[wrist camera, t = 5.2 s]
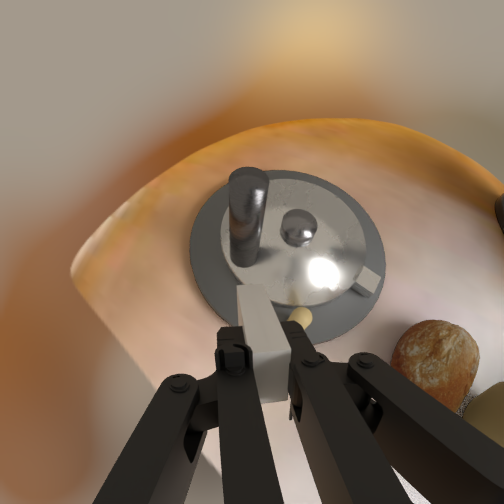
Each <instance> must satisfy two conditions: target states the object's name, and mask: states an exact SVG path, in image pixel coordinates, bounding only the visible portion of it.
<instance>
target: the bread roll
mask: <svg viewBox="0 0 504 504" xmlns="http://www.w3.org/2000/svg"><path fill="white" fill-rule="evenodd" d="M479 359H480V356H479V349H478V346H477V344H476V341H475V340H474V339H473V338H472V337H471V335H470V334H469V333H468V332H467V331H466V330H465V329H463V328H461V327H460V326H459V325H454V324H451V323H450V322H446V321H442V320H426V321H422V322H420V323H417V324H415V325H413V326H412V327H411V328H409V329H408V330H407V331H406V332H405V333H404V335H403V336H402V337H401V339H400V340H399V342H398V344H397V346H396V348H395V351H394V353H393V356H392V361H391V367H393V368H394V369H395V370H397V371H398V372H399V373H401V374H402V375H403V376H405V377H406V378H407V379H409V380H410V381H412V382H413V383H414V384H416V385H417V386H418V387H420V388H421V389H422V390H424V391H425V392H427V393H428V394H429V395H431V396H432V397H433V398H435V399H436V400H438V401H439V402H440V403H442V404H443V405H444V406H446V407H447V408H449V409H450V410H451V411H453V412H454V413H456V412H457V411H458V408H459V407H460V405H461V403H462V402H463V399H464V398H465V396H466V395H467V394H468V393H469V389H470V388H471V386H472V384H473V381H474V378H475V376H476V373H477V369H478V365H479Z"/></svg>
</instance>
